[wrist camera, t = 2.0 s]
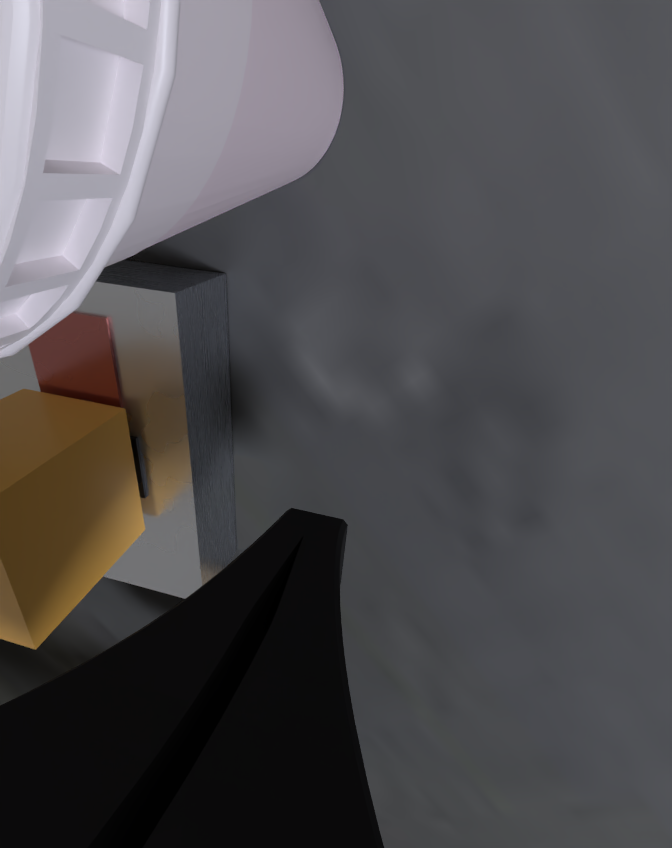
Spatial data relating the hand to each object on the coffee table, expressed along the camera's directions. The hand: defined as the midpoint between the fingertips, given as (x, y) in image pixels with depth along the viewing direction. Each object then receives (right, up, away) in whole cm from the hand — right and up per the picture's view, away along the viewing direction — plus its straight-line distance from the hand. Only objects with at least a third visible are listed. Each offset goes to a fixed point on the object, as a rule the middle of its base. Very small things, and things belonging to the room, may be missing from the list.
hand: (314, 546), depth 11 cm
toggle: (-6, +2, +2) cm, 7 cm away
